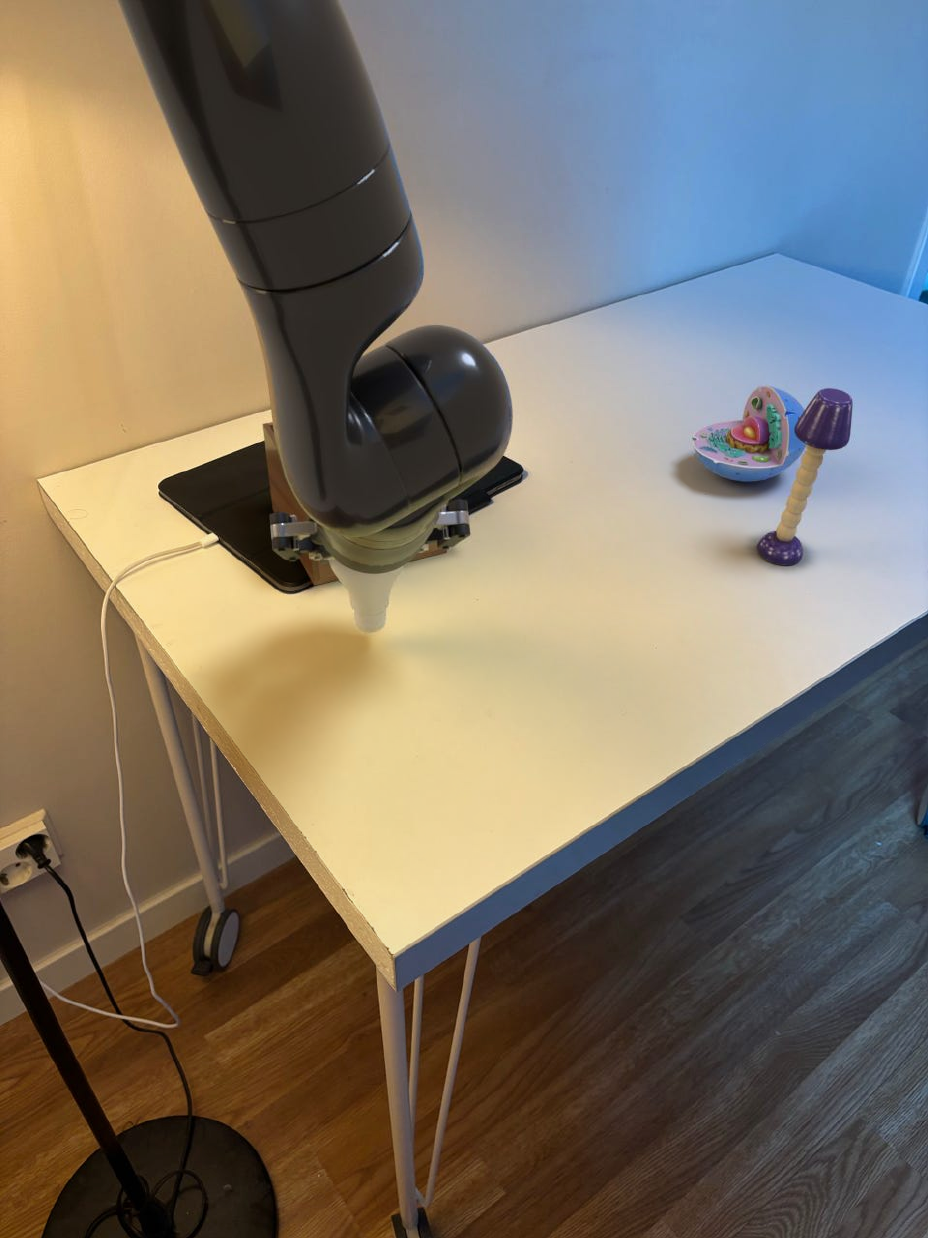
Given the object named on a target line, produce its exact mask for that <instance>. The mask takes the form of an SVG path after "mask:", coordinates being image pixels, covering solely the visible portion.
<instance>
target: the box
mask: <svg viewBox="0 0 928 1238" xmlns="http://www.w3.org/2000/svg"><path fill="white" fill-rule="evenodd" d="M262 431H263V441H264V448H265V457H266V466H267V473H268V482H269V490H270V498H271V499H270V500H271V506H272V507H271V508H272V511H273V513H275V512H277V511H281V512H282V513H287V514H288V515H289V516H291V515H295V516H296V518H297V522H305V521H309V517H310V516H309V515H307V513H306V512H305V511H304V510H303V509H302V507H301V506H300V505H299V503H298V502H297V500H296V499H295V497H294V496H293V494H292V492H291V490H290V488H289V485H288V483H287V481H286V478H285V476H284V473H283V470H282V467H281V463H280V459H279V455H278V450H277V445H276V441H275V435H274V428H273V421H271V422H266V423H262ZM448 504H449V501H448V502H447V503H445V504H444V505H448ZM440 511H441V508H440ZM428 546H429V550H426V551H424V552H422V553H418V554H417V555H416V556H415V557H414V558H413V559H412V560H411V561H409V562H408V563H410V562H414V561H418V560H421V559H426V558H430V557H434V556H437V555H441V554H445V553H448V549H445V550H443V549H442V548H437V543H431V544H428ZM299 561H300V562H301V565H302V566H303V568H304V569H305V571H306V573H307V575H308V577H309V579H310V581H311V582H312V584H313V586H319V585H324V584H327V583H331V582H334V581H340V580H339V579H338V577H337V576H336V575H335V573H334V572H333V570H332V568H331V566H330V563H326V564H320V561H319V560H317V561H315V560H314V559H309V553H301V558H300V559H299Z"/></svg>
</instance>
